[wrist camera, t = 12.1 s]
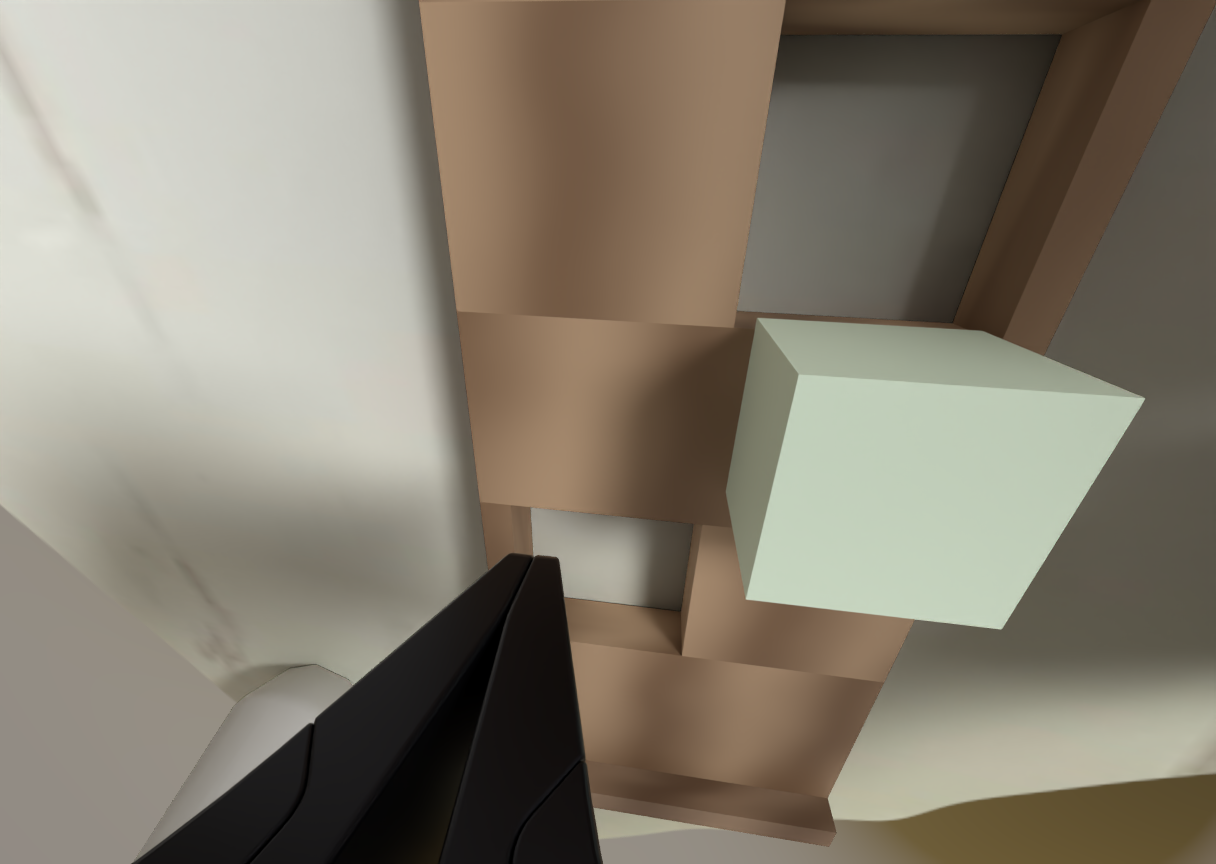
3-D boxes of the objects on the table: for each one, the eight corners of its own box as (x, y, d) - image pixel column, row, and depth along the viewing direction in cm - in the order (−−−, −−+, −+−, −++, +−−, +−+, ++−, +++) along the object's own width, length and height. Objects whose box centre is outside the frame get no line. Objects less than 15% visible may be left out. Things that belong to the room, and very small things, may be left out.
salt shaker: (249, 659, 24) (-151, 1091, 12) (333, 645, 22) (-32, 1122, 11) (315, 726, 26) (31, 1143, 14) (395, 718, 24) (150, 1175, 13)
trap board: (1292, -385, 7) (1717, -787, 4) (808, 762, 22) (828, 846, 19) (428, -313, 8) (304, -579, 6) (523, 719, 23) (503, 792, 20)
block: (982, 330, 10) (1145, 398, 7) (908, 508, 13) (1001, 629, 9) (757, 317, 11) (798, 374, 7) (725, 491, 13) (745, 599, 9)
